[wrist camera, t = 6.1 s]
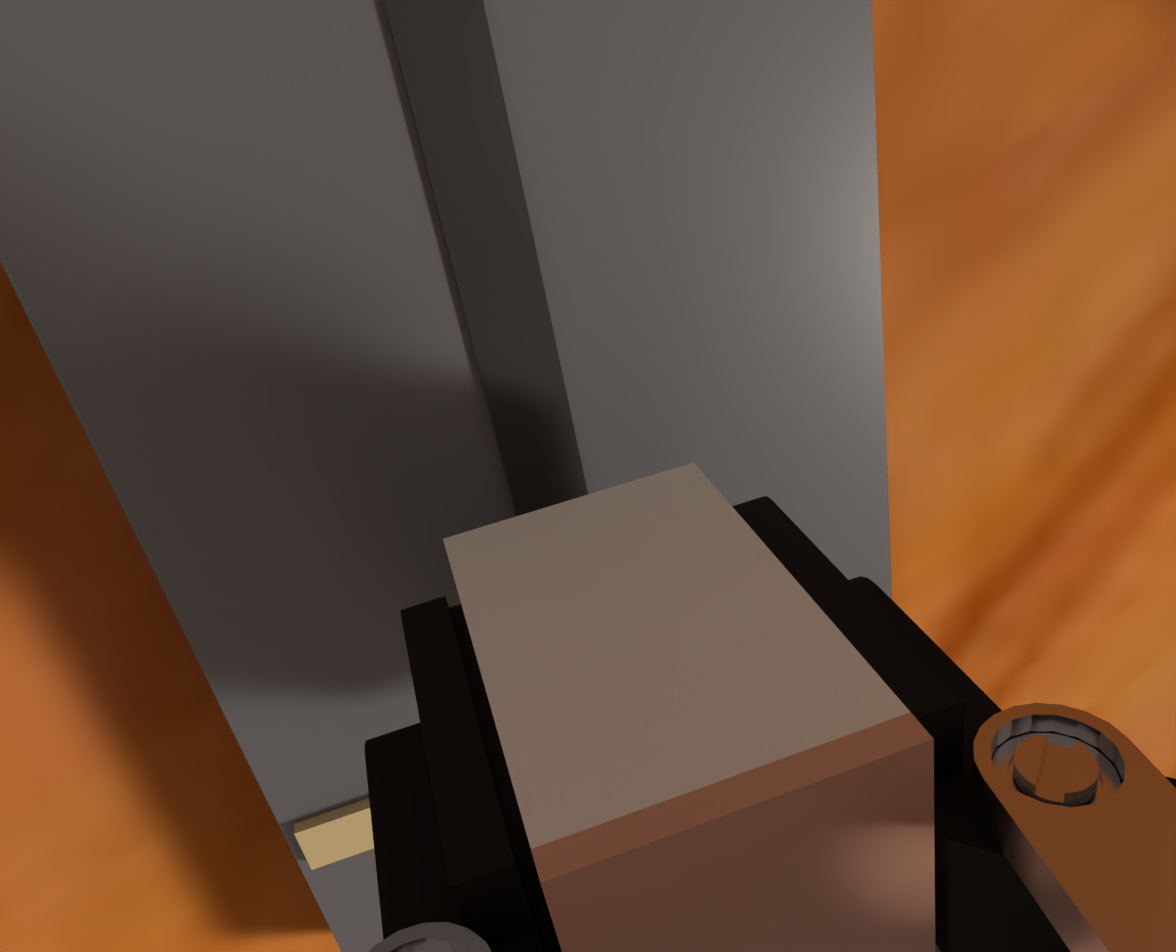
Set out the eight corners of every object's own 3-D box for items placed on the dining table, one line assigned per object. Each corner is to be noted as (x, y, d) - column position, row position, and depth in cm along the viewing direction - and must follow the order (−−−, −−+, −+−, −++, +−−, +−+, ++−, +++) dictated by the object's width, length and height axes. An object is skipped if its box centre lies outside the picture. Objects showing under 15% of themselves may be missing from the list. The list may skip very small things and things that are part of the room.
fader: (425, 480, 12) (540, 883, 7) (651, 413, 12) (934, 740, 7) (498, 716, 14) (632, 1177, 8) (691, 651, 14) (935, 1049, 9)
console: (-597, -1252, 7) (-1152, -2032, 4) (655, -1264, 9) (825, -1848, 6) (385, 929, 20) (401, 1081, 17) (826, 768, 21) (906, 883, 19)
